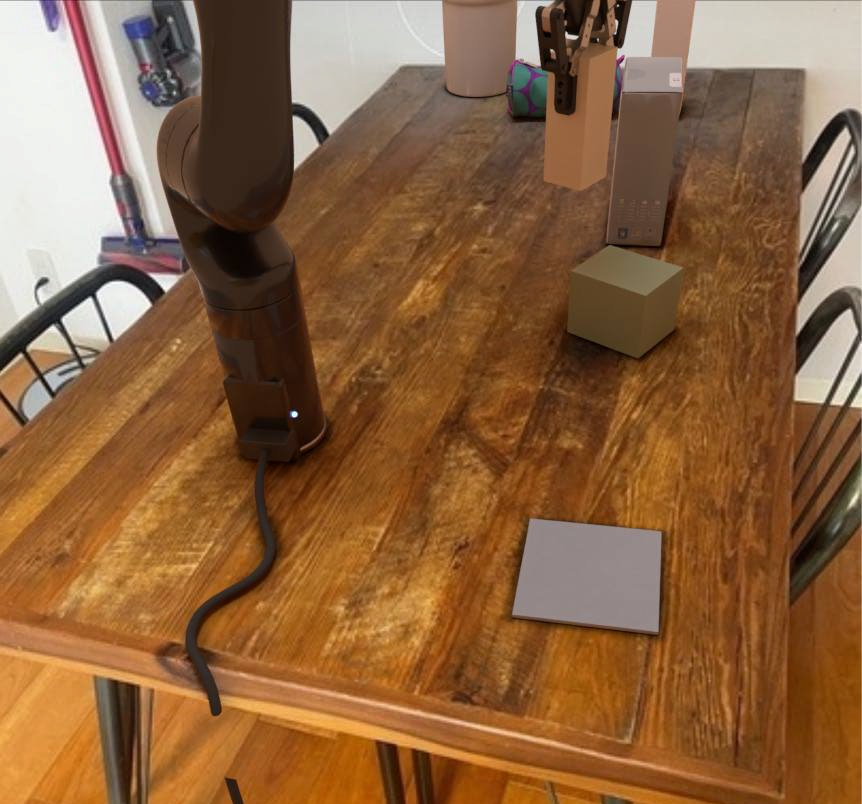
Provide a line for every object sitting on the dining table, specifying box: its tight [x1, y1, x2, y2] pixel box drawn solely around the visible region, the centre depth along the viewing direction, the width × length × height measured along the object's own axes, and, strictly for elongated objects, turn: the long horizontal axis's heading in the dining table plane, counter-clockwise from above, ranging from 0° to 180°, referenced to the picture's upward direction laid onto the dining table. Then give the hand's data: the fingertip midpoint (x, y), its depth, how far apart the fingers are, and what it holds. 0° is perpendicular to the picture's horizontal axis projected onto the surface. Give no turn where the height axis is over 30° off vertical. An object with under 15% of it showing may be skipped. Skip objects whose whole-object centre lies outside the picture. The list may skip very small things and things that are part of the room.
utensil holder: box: [441, 0, 518, 98], centre depth 166 cm, size 15×15×18 cm
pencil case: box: [505, 54, 626, 118], centre depth 155 cm, size 21×9×10 cm, turn 85°
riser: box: [566, 244, 685, 359], centre depth 101 cm, size 10×8×8 cm
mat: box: [511, 517, 663, 636], centre depth 75 cm, size 12×12×1 cm
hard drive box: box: [605, 56, 684, 247], centre depth 117 cm, size 16×8×20 cm, turn 168°
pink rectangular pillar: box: [650, 0, 696, 116], centre depth 148 cm, size 6×6×22 cm
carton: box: [543, 43, 619, 192], centre depth 91 cm, size 13×5×5 cm
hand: (580, 104), depth 90 cm, fingers closed on carton, 5 cm apart
